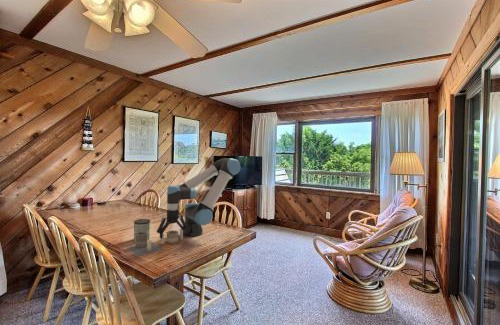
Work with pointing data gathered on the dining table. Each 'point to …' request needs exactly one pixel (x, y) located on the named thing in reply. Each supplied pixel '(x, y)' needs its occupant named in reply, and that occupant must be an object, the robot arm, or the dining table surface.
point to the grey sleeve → (141, 240)
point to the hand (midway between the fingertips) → (172, 241)
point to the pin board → (145, 249)
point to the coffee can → (142, 227)
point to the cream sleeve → (172, 237)
